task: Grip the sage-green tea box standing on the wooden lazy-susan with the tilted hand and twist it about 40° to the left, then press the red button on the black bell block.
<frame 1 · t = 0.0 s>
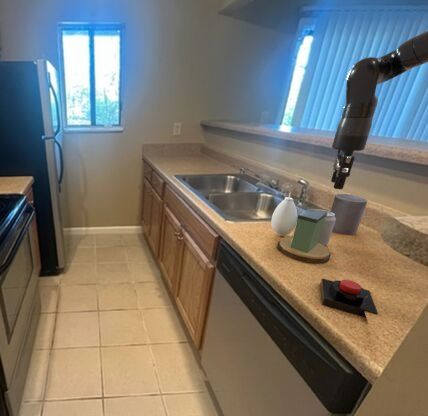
hand: (336, 185, 87), 24 cm above the worktop, tool pointing down, fingers open, 8 cm apart
pillar candle: (340, 230, 110), on the worktop
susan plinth: (302, 252, 95), on the worktop
can: (314, 242, 101), on the worktop
tea box: (308, 231, 92), point 8 cm above the worktop, hinge at 0.0°
bell button: (350, 287, 70), point 4 cm above the worktop, slide at 0.1 cm
sauce bottle: (280, 235, 107), on the worktop
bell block: (344, 301, 72), on the worktop
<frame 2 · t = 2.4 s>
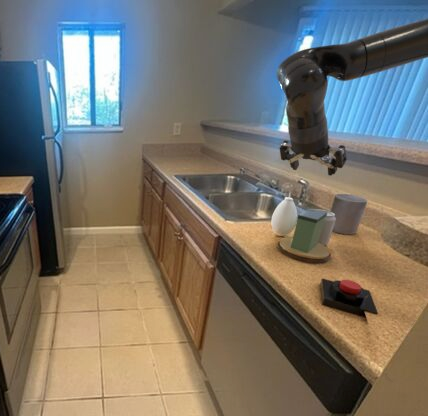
hand: (313, 170, 78), 31 cm above the worktop, tool tilted 45°, fingers open, 8 cm apart
nothing on the worktop moved.
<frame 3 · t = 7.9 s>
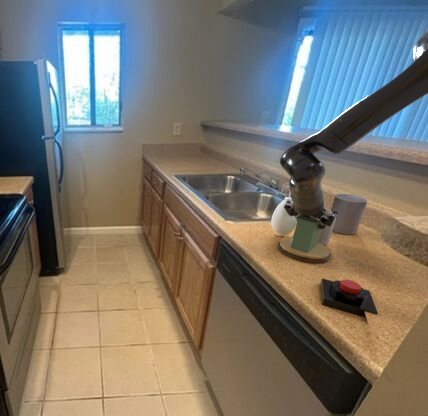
hand: (311, 223, 92), 10 cm above the worktop, tool tilted 45°, fingers closed on tea box, 5 cm apart
tea box: (308, 231, 92), point 8 cm above the worktop, hinge at 0.0°, touching gripper
everything else where it was.
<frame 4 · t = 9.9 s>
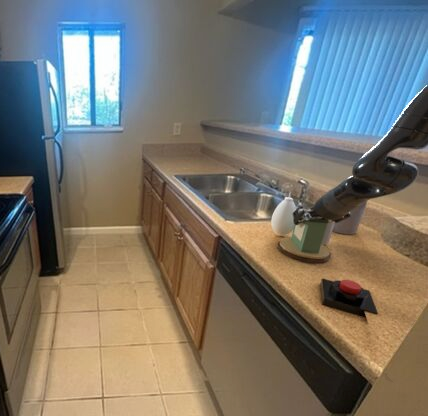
hand: (307, 223, 92), 10 cm above the worktop, tool tilted 45°, fingers open, 6 cm apart
tea box: (308, 231, 92), point 8 cm above the worktop, hinge at 38.7°
everything else where it was.
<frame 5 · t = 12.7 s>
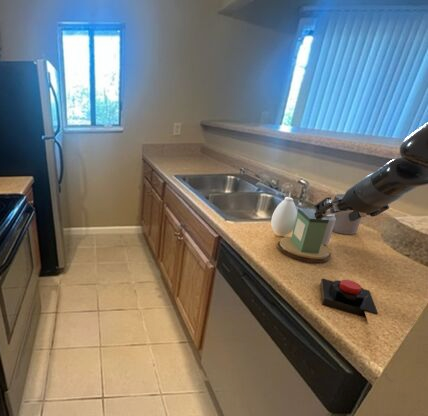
hand: (333, 217, 80), 17 cm above the worktop, tool tilted 45°, fingers open, 8 cm apart
nothing on the worktop moved.
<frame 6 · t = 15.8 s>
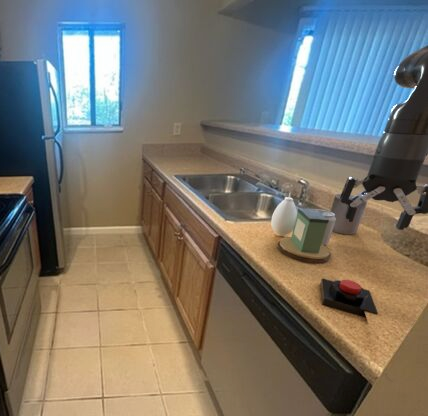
hand: (373, 224, 64), 22 cm above the worktop, tool pointing down, fingers open, 8 cm apart
nothing on the worktop moved.
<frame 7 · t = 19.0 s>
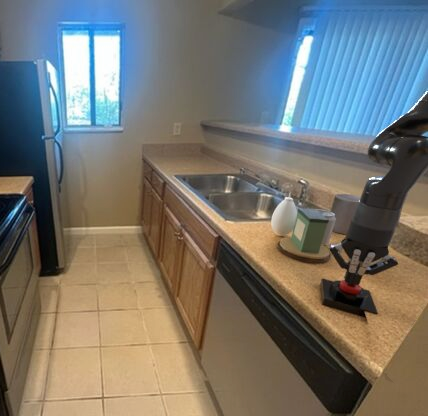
hand: (350, 284, 70), 5 cm above the worktop, tool pointing down, fingers closed
bell button: (349, 287, 70), point 4 cm above the worktop, slide at 0.0 cm, touching gripper
everything else where it was.
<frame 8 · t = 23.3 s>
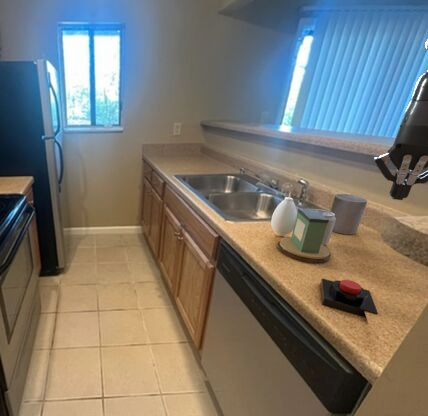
hand: (396, 198, 65), 27 cm above the worktop, tool pointing down, fingers closed
bell button: (350, 287, 70), point 4 cm above the worktop, slide at 0.1 cm
everything else where it was.
at the end: tea box at +39° (first picture: +0°); bell button pushed in 1.1 cm at the most during the clip, back to where it started at the end; bell button slide at 0.1 cm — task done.
